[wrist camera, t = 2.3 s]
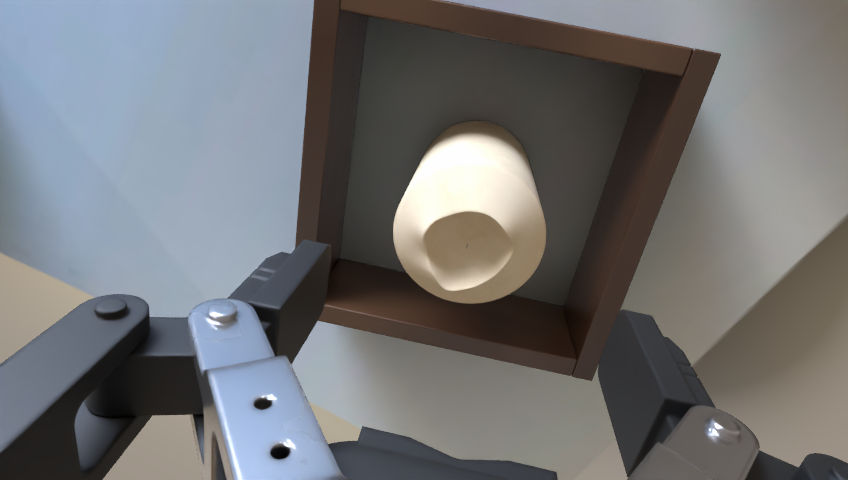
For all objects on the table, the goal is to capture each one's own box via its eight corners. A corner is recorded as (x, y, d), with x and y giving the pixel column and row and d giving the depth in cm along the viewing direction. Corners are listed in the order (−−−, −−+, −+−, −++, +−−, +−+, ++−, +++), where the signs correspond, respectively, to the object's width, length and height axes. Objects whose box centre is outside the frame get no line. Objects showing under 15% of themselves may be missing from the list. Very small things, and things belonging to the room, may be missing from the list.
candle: (487, 241, 27) (486, 351, 18) (402, 186, 27) (356, 271, 18) (552, 159, 25) (586, 236, 16) (460, 96, 24) (442, 140, 15)
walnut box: (321, 269, 29) (289, 315, 25) (350, -15, 23) (315, -24, 19) (575, 324, 29) (592, 381, 24) (675, 47, 23) (722, 54, 18)
